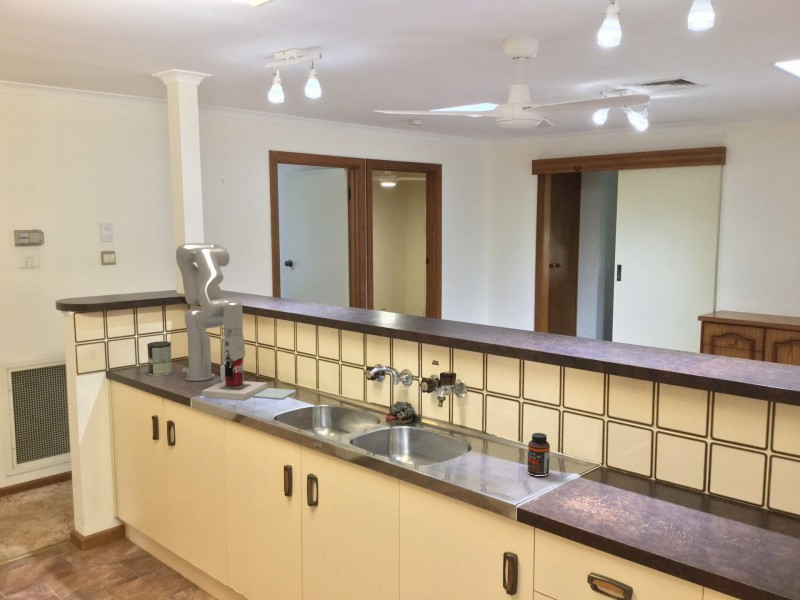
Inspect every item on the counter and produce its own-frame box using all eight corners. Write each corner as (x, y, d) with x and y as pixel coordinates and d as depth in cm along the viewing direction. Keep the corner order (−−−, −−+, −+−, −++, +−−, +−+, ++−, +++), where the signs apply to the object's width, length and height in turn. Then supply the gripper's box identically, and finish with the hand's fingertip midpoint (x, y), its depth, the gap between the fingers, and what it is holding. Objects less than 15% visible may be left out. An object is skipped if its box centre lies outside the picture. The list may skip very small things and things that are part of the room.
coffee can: (143, 375, 308) (142, 344, 307) (158, 370, 318) (157, 340, 316) (162, 376, 305) (161, 346, 303) (177, 371, 315) (175, 342, 313)
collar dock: (201, 396, 271) (201, 390, 270) (227, 385, 289) (226, 379, 288) (244, 400, 265) (244, 394, 265) (267, 388, 283) (267, 382, 283)
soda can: (245, 383, 280) (245, 355, 279) (240, 388, 273) (239, 359, 272) (228, 383, 281) (228, 355, 280) (222, 387, 274) (221, 358, 272)
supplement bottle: (523, 475, 188) (524, 435, 186) (532, 468, 193) (533, 430, 191) (544, 479, 185) (545, 439, 183) (552, 472, 189) (553, 433, 188)
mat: (252, 397, 270) (252, 395, 270) (268, 389, 282) (268, 388, 282) (282, 399, 266) (282, 398, 266) (296, 391, 278) (296, 390, 278)
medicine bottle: (244, 380, 298) (243, 353, 297) (231, 383, 293) (230, 356, 291) (232, 378, 302) (232, 351, 301) (220, 381, 297) (219, 354, 295)
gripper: (230, 336, 265) (231, 380, 267) (252, 328, 281) (252, 370, 284) (213, 335, 267) (214, 378, 269) (236, 327, 283) (236, 369, 286)
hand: (234, 374), depth 277 cm, fingers closed on soda can, 7 cm apart
